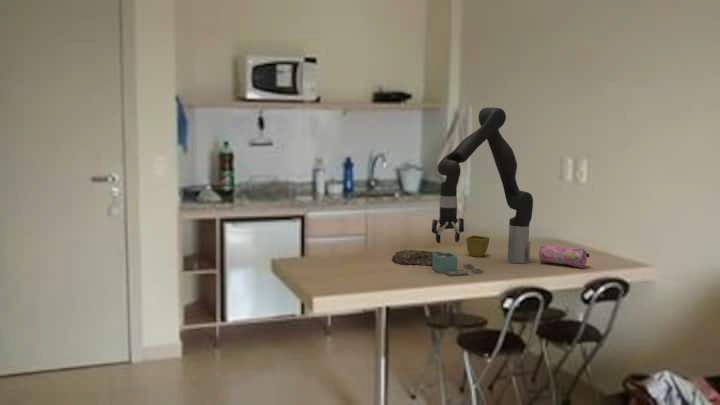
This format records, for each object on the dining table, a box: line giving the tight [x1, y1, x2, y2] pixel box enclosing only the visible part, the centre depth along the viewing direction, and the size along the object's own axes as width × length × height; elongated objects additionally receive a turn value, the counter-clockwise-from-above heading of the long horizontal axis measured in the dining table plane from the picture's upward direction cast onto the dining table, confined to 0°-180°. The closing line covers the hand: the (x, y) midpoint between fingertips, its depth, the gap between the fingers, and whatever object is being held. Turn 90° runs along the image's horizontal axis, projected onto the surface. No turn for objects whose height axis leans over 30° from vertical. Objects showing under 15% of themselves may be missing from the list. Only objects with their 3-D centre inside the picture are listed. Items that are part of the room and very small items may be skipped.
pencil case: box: [538, 243, 590, 269], centre depth 335 cm, size 21×9×9 cm, turn 58°
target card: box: [444, 270, 469, 277], centre depth 314 cm, size 9×5×1 cm, turn 106°
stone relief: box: [391, 249, 443, 267], centre depth 341 cm, size 26×4×30 cm
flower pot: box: [465, 234, 491, 258], centre depth 352 cm, size 9×9×9 cm
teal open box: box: [431, 252, 458, 274], centre depth 320 cm, size 8×8×7 cm
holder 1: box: [462, 263, 475, 270], centre depth 327 cm, size 4×4×1 cm
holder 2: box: [471, 268, 484, 274], centre depth 318 cm, size 4×4×1 cm
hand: (447, 242), depth 320 cm, fingers open, 8 cm apart
